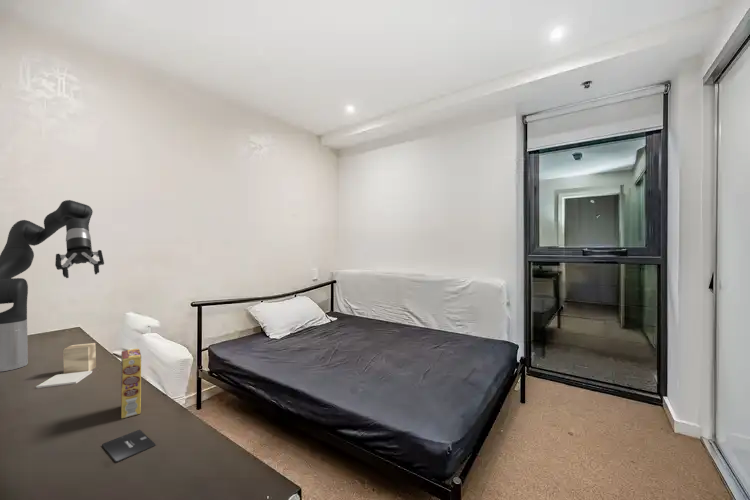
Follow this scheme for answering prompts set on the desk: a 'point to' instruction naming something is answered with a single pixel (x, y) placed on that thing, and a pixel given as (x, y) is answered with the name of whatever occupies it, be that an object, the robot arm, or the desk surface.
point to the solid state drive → (128, 445)
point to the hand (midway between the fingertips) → (81, 275)
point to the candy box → (130, 383)
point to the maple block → (79, 358)
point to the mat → (64, 379)
